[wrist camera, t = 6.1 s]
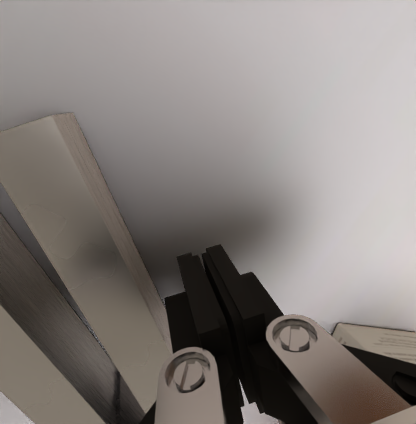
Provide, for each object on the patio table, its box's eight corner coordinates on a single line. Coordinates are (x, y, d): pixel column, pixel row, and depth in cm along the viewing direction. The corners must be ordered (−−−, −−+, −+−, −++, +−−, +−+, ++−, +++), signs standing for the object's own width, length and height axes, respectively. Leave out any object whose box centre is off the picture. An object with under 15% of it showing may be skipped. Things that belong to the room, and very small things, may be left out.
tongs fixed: (217, 457, 16) (237, 534, 13) (165, 486, 16) (174, 572, 13) (1, 135, 9) (-62, 149, 6) (-104, 178, 8) (-228, 217, 6)
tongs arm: (228, 436, 16) (250, 506, 13) (195, 453, 15) (210, 527, 13) (78, 111, 9) (56, 112, 6) (14, 131, 9) (-37, 143, 6)
